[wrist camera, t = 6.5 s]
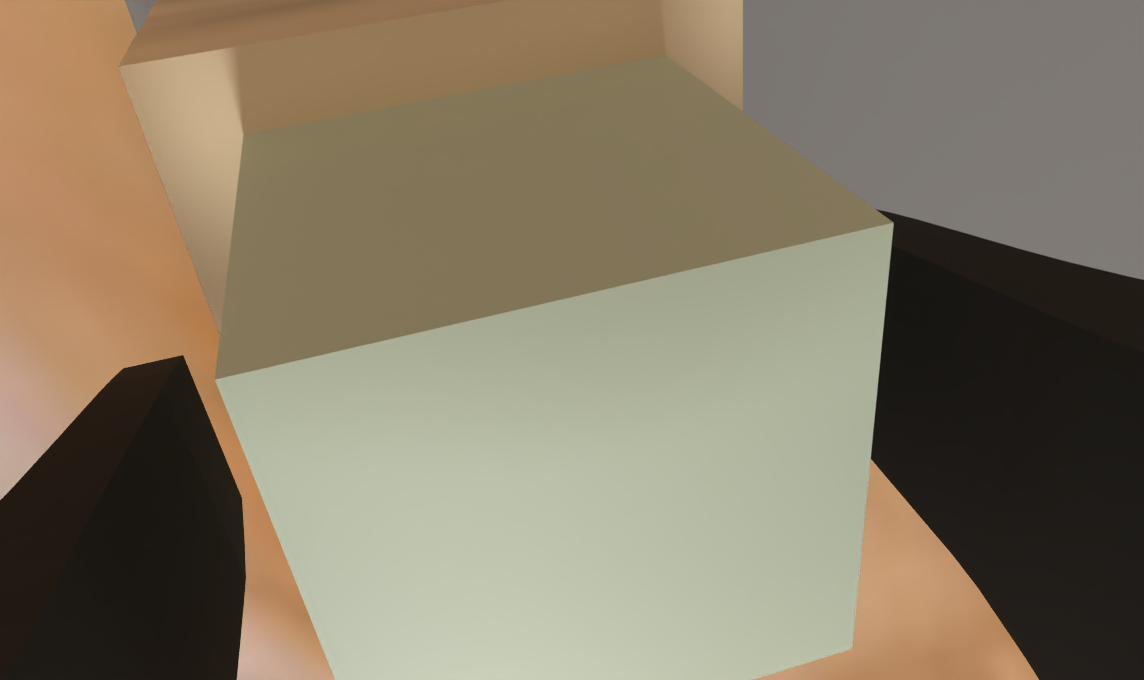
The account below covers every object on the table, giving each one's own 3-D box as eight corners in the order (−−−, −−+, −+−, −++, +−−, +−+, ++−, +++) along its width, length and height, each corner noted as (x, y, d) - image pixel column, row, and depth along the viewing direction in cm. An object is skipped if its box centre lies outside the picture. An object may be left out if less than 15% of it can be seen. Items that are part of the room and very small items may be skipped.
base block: (657, 305, 18) (742, 426, 14) (296, 390, 17) (298, 541, 13) (634, -84, 14) (743, -40, 11) (161, -9, 13) (117, 66, 9)
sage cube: (682, 387, 14) (852, 648, 10) (350, 471, 13) (381, 795, 9) (665, 55, 11) (894, 223, 7) (243, 135, 10) (214, 380, 6)
